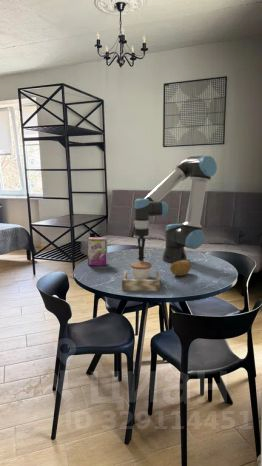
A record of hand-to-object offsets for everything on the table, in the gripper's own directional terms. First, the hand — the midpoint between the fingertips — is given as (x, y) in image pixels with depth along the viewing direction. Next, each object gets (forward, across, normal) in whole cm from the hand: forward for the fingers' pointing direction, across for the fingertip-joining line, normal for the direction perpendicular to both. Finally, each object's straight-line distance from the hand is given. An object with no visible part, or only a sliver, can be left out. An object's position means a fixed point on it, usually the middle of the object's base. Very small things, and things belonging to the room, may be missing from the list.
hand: (141, 270), depth 174 cm
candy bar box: (+2, -17, -27) cm, 32 cm away
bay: (+2, +18, +1) cm, 18 cm away
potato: (+2, 0, +22) cm, 22 cm away
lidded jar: (+2, +8, 0) cm, 8 cm away
